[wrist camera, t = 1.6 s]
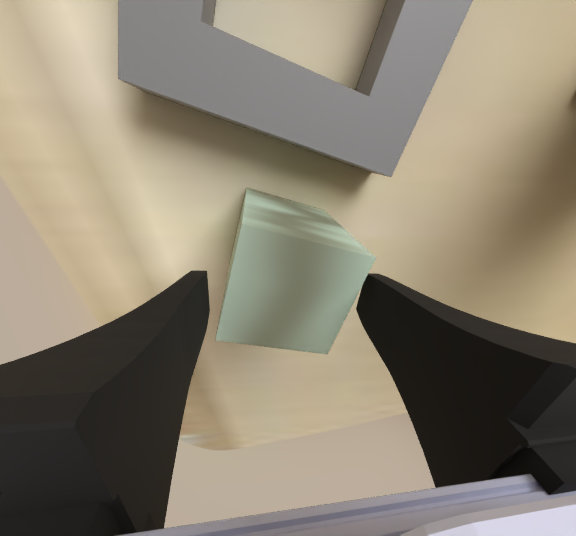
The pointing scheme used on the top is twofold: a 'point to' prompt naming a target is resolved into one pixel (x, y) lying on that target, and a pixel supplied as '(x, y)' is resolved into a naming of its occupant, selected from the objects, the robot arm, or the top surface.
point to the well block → (293, 76)
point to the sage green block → (290, 276)
